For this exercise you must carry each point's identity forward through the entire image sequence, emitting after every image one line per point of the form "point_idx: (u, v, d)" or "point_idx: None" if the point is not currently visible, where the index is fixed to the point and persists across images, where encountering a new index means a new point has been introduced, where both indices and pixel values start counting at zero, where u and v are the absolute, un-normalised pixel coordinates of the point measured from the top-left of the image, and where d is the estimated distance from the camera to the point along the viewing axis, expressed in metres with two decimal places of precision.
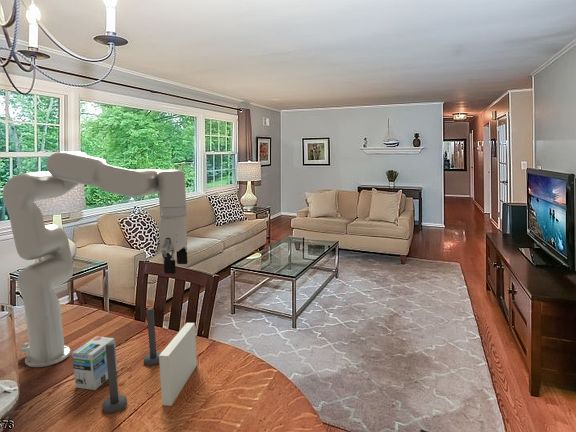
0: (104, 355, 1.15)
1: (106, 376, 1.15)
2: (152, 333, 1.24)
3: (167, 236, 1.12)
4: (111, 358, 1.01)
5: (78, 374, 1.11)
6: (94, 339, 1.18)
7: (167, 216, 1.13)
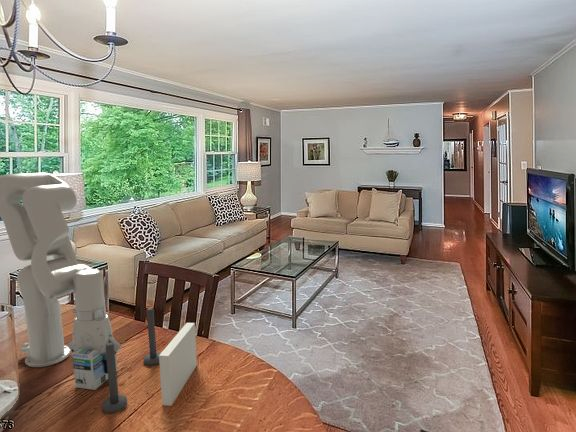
0: None
1: (106, 376, 1.15)
2: (152, 333, 1.24)
3: (109, 334, 1.14)
4: (111, 358, 1.01)
5: (78, 374, 1.11)
6: None
7: (103, 315, 1.13)
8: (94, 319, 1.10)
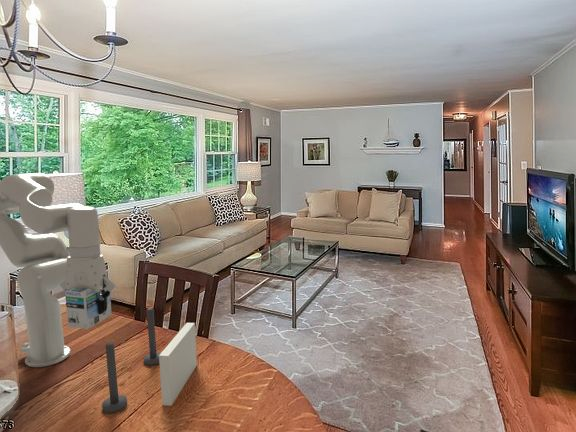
0: None
1: (99, 317, 1.13)
2: (152, 333, 1.24)
3: (103, 274, 1.11)
4: (111, 358, 1.01)
5: (71, 313, 1.08)
6: None
7: (97, 254, 1.10)
8: (88, 256, 1.08)
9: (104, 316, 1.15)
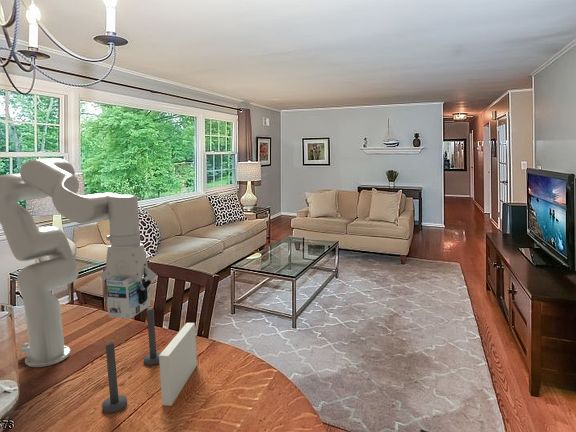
0: None
1: (140, 307, 1.11)
2: (152, 333, 1.24)
3: (144, 263, 1.09)
4: (111, 358, 1.01)
5: (112, 302, 1.06)
6: None
7: (138, 243, 1.08)
8: (129, 245, 1.06)
9: (144, 306, 1.13)
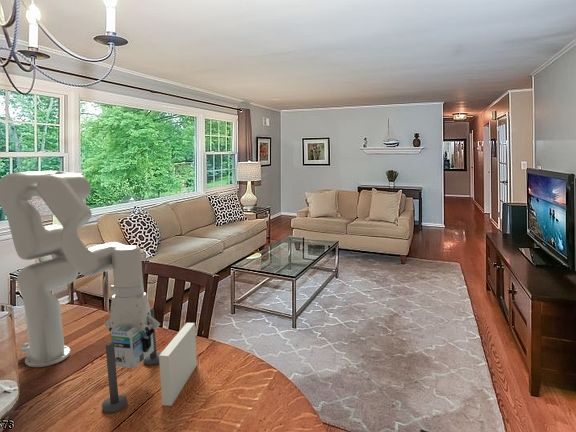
0: None
1: (144, 355, 1.13)
2: None
3: (147, 312, 1.11)
4: (111, 358, 1.01)
5: (117, 352, 1.09)
6: None
7: (141, 293, 1.10)
8: (133, 296, 1.08)
9: (148, 353, 1.15)
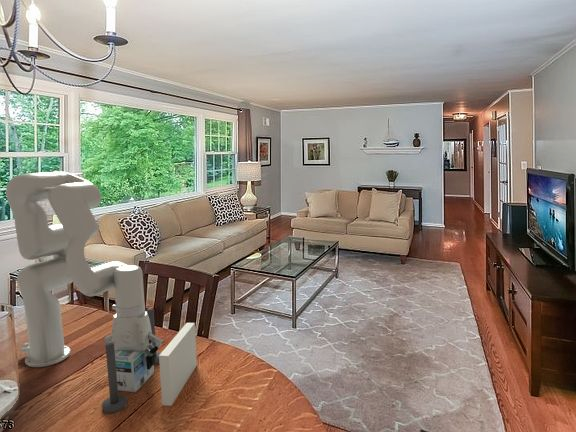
0: (143, 357, 1.13)
1: (144, 378, 1.14)
2: (152, 333, 1.24)
3: (148, 331, 1.12)
4: (111, 358, 1.01)
5: (118, 376, 1.10)
6: None
7: (142, 312, 1.11)
8: (135, 316, 1.09)
9: (148, 376, 1.16)
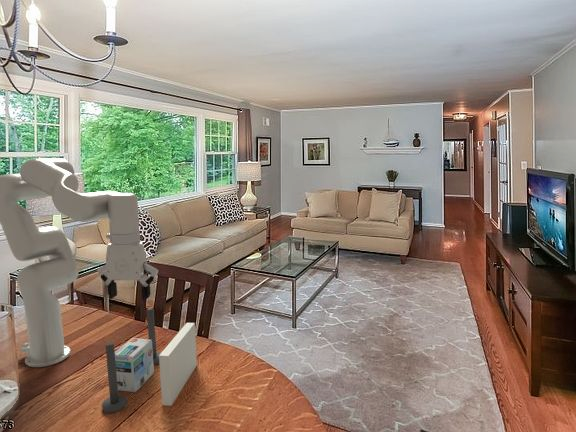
0: (143, 357, 1.13)
1: (144, 378, 1.14)
2: (152, 333, 1.24)
3: (143, 261, 1.09)
4: (111, 358, 1.01)
5: (118, 376, 1.10)
6: (131, 341, 1.17)
7: (137, 241, 1.08)
8: (129, 243, 1.06)
9: (148, 376, 1.16)
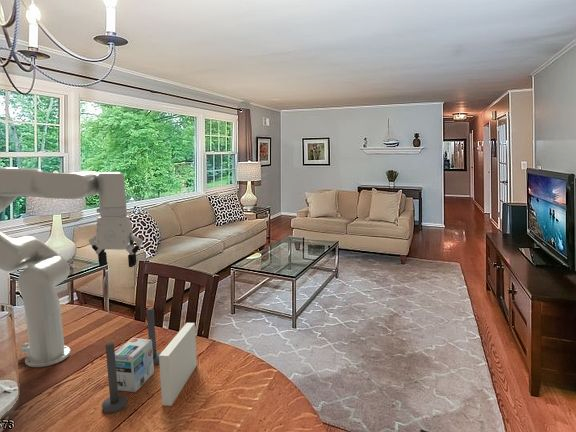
0: (143, 357, 1.13)
1: (144, 378, 1.14)
2: (152, 333, 1.24)
3: (130, 232, 1.23)
4: (111, 358, 1.01)
5: (118, 376, 1.10)
6: (131, 341, 1.17)
7: (124, 214, 1.22)
8: (117, 216, 1.20)
9: (148, 376, 1.16)
